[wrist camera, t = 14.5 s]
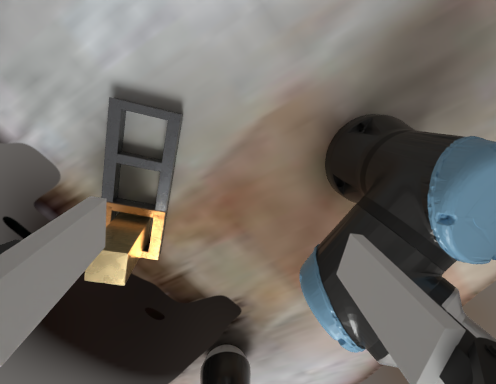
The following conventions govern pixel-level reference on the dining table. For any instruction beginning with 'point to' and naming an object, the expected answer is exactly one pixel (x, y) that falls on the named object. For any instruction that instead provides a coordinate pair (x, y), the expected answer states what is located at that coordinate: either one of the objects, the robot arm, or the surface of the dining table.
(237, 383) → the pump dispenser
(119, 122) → the rail
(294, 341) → the dining table surface
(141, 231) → the brass peg
